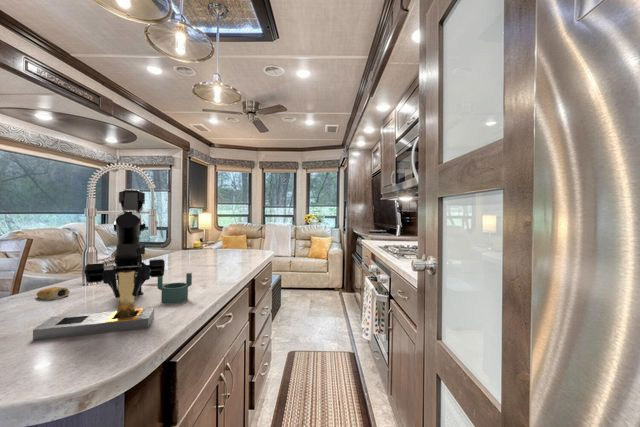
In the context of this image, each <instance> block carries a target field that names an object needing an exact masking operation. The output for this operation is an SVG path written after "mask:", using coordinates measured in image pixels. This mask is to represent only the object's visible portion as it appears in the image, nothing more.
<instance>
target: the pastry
mask: <svg viewBox="0 0 640 427" xmlns="http://www.w3.org/2000/svg"><path fill="white" fill-rule="evenodd" d="M70 293H71V292H70V289H69V288H67V287H61V286H54V287H49V288H45V289H41V290H39V291H38V292H37V293H36V297H38V298H39V299H41V300H48V301H56V300H60V299H62V298H65V297H68V296H69V295H70Z"/></svg>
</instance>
